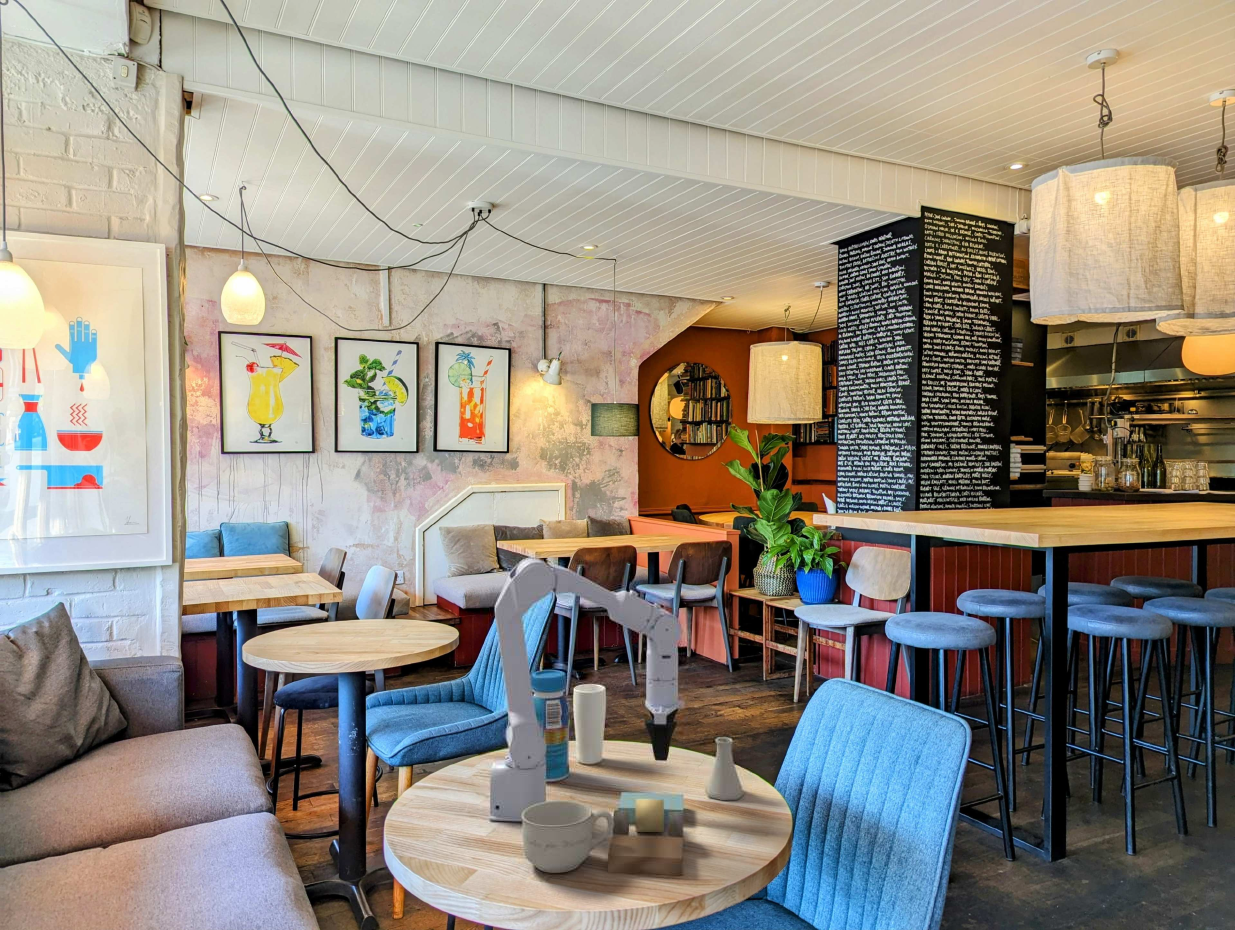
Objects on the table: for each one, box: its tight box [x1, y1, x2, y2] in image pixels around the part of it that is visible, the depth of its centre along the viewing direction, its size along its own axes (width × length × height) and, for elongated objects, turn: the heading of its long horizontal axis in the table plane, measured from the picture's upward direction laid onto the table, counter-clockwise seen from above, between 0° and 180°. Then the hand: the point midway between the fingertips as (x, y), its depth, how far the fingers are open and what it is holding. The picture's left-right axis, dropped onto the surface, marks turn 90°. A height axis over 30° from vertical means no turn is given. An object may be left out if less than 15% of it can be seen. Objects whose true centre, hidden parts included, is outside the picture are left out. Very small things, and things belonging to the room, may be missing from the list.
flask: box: [704, 736, 745, 801], centre depth 151 cm, size 7×7×10 cm
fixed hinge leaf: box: [607, 809, 684, 876], centre depth 126 cm, size 11×12×5 cm
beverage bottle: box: [531, 669, 571, 783], centre depth 160 cm, size 8×8×20 cm
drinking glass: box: [572, 683, 607, 765], centre depth 168 cm, size 7×7×15 cm
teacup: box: [522, 800, 614, 874], centre depth 123 cm, size 14×11×8 cm
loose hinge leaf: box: [617, 791, 684, 833], centre depth 139 cm, size 11×12×5 cm
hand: (662, 752), depth 147 cm, fingers open, 7 cm apart
